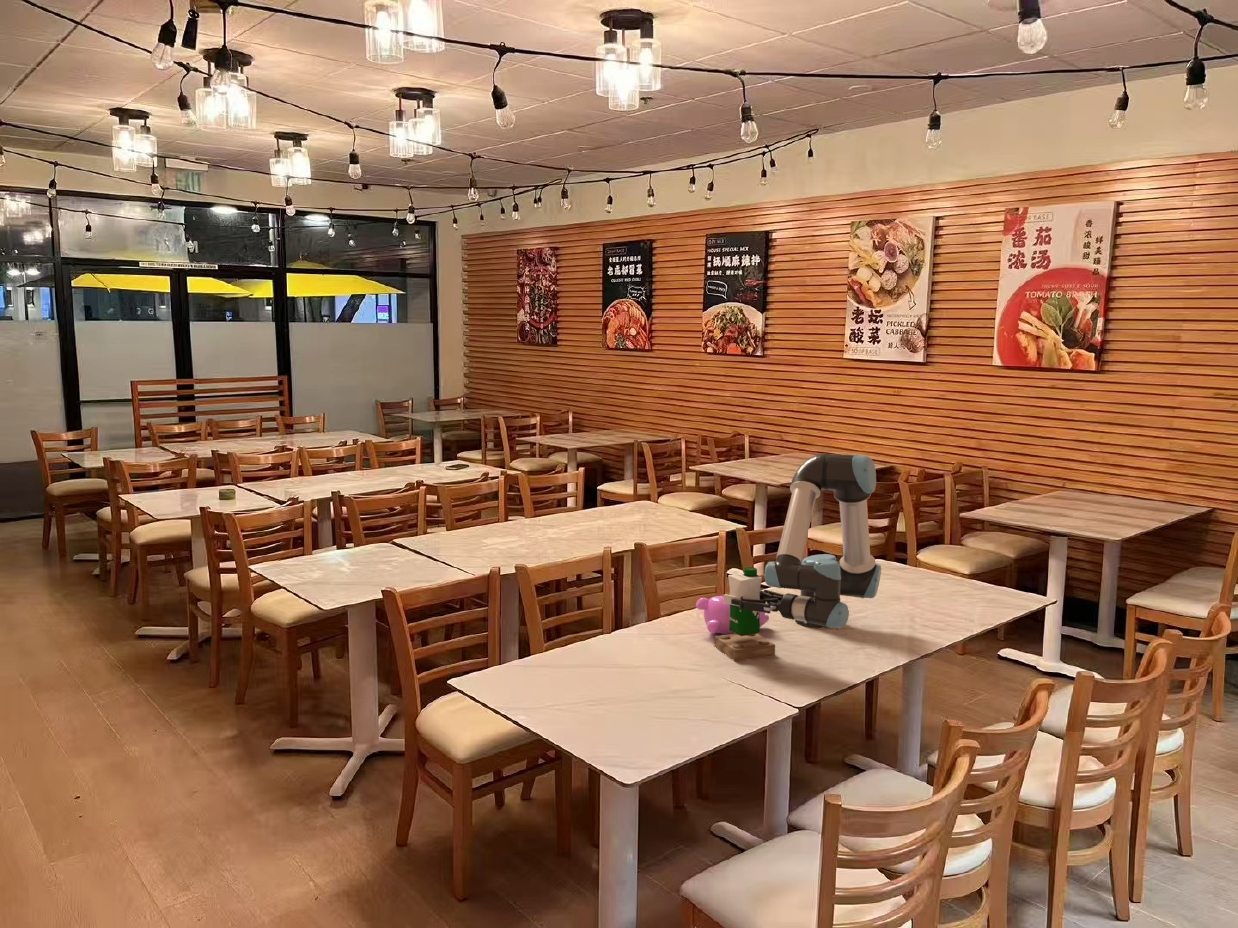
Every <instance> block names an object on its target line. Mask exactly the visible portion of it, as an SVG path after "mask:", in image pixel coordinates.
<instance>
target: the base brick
mask: <svg viewBox="0 0 1238 928" xmlns="http://www.w3.org/2000/svg"><path fill="white" fill-rule="evenodd" d="M713 646H714V648H715V647H716V648H717V649H716V648H715V649H716V650H718V651H719V652H721V653H722V654H723V653H724V654H723V655H725V654H726V655H727V656H726V655H725V656H726V657H728V658H729V659H730V660H732V659H733V660H734V661H733V660H732V661H733V662H742V661H747V659H749V660H754V659H761V658H768V657H769V658H770V657H775V656H776V644H775V643H773V642H772V641H770V640H768V639H767V638H765V637H763V636H762V635H760V633H757V634H751V635H745V636H740V635H738V634H736V633H731V634H721V635H714V645H713ZM741 660H742V661H741Z"/></svg>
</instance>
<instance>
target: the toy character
mask: <svg viewBox="0 0 1238 928" xmlns="http://www.w3.org/2000/svg"><path fill="white" fill-rule="evenodd" d="M723 597H724V595H716V596H712V597H710V598H709V599H708V598H706V597H701V598H699V599H697V601H696V603H695V607H696V609H697V610H699V611H703V619H704V622H705V625H706V629H707V631H708V632H709V633H711V634H712V635H715V633H716V634H721V635H728V634H734V632H732V631H730V630H729V624H730V604H725V603H723ZM769 620H770V616H769V615H768V614H766V613H764V612H760V628H761V627H762V626H764V625H765V624H766V623H768V621H769Z"/></svg>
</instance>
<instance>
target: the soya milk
mask: <svg viewBox="0 0 1238 928" xmlns="http://www.w3.org/2000/svg"><path fill="white" fill-rule="evenodd" d="M727 576H728V583H729V584H728V585H729V595H732V596H735V597H743V599H755V600H760V591H761V585H762V580H763V577H762V576H761V575H759V574H758V569H757V568H756V567H754V566H752V567H751V566H749V567H744V569H743V572H739V573H734V574H729V575H727ZM729 630H730V631H732V632H733V634H738V635H740V636H745V635H751V634H761V627H760V612H758V611H750V610H741V609H739V606H736V605H731V604H730V624H729Z"/></svg>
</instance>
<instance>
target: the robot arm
mask: <svg viewBox="0 0 1238 928" xmlns="http://www.w3.org/2000/svg"><path fill="white" fill-rule="evenodd" d="M876 471H877V470H876V465H875V462H874V461H873V459H872V458H871V457H870V456H867V455H861V454H841V453H840V454H837V453H836V454H835V453H826V452H825V453H823V452H822V453H817V454H815V455H812V456H811V457H809V458H808V459H806V460H805V461H804V462H803V463H801V464H800V466H799V467H798V469H797V470H796V471H795V473H794V475H793V476H792V479H791V482H790V486H789V490H790V493H791V497H790V499H789V500H790V501H789V504H788V507H787V508H788V509H787V513H786V517H785V521H784V524H783V529H782V534H781V537H780V541H779V546H778V549H777V553H776V556H775V557H776V559H775V561H774V560H773V561H767V563H766V565H765V567H764V575H763V576H764V582H765V584H766V585H767V586H769V587H774V588H777V589H788V590H799V591H800V595H798V594H794V593H786V594H783V593H780V592H775V591H772V590H768V589H764V590H760V600H755V599H743V597H735V596H732V595H730V594H727V593H725V594H723V596H724V597H723V603H725V604H731V605H736V606H739V609H741V610H750V611H758V612H764V613H765V614H767V615H768V614H771V612H779V613H780V615H781V617H783V618H784V619H788V620H792V621H793V620H794V621H795V623H796V624H797V625H800V626H803V627H808V628H815V629H828V628H832V629H842V628H844V627H845V626H846V624H847V623H848V621H849V616H850V610H849V606H848V605H847V604H846V603H845V602H842V601H841V596H845V597H852V598H861V599H874V598H875V597H876V596H877V593H878V589H879V586H880V580H881V574H882V566H881V565H880V564H878V563H876V558H875V557H874V556H873V555H872V554H871V547H870V533H869V517H868V516H869V515H868V513H869V512H868V499H870V497H871V495H872V493H874V492H875V490H876V486H877V472H876ZM821 491H833V497H834V499H836V500H837V501H838V502H839V515H840V526H841V538H842V550H843V556H841V558H840V559H839V560H837V557H836V556H835V555H834V554H829V553H823V554H821V553H820V554H814V555H813V554H812V555H810V556H807V557H805V558H803V555H804V552H805V547H806V542H807V539H808V534H809V530H810V524H811V520H812V517H813V513H814V507H815V503H816V499H818V498H819V497H820V496H821Z"/></svg>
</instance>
